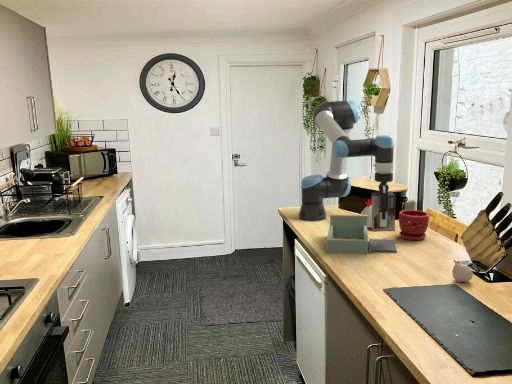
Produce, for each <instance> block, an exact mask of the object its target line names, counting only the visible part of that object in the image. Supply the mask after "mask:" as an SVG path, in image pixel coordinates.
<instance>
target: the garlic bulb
mask: <svg viewBox="0 0 512 384" xmlns="http://www.w3.org/2000/svg"><path fill="white" fill-rule="evenodd" d="M453 263H454V266H453V268H452V271H451V272H452V278H453V279H454V280H455V281H456V282H459V283H462V282H463V283H466V282H470V281H471V280H472V279H473V278H474V274H473V270H472V269H471V267H469V266H468V265H467V264H464V263H458V261H456V260H455V259H454V260H453Z"/></svg>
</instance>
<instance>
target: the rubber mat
mask: <svg viewBox="0 0 512 384" xmlns="http://www.w3.org/2000/svg"><path fill="white" fill-rule="evenodd" d="M368 239H369V240H368V245H369V252H370V253H393V254H394V253H397V252H398V250H397V246H396V242H395V239H387V238H385V239H384V238H382V239H381V238H380V239H379V238H378V239H377V238H368Z"/></svg>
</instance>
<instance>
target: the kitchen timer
mask: <svg viewBox="0 0 512 384" xmlns="http://www.w3.org/2000/svg"><path fill="white" fill-rule="evenodd" d="M365 204H366V207H365V208H363V210H362V211H360V215H368V218H367V231H373V229H372V197H371V198H368V199H367V201H365Z"/></svg>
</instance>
